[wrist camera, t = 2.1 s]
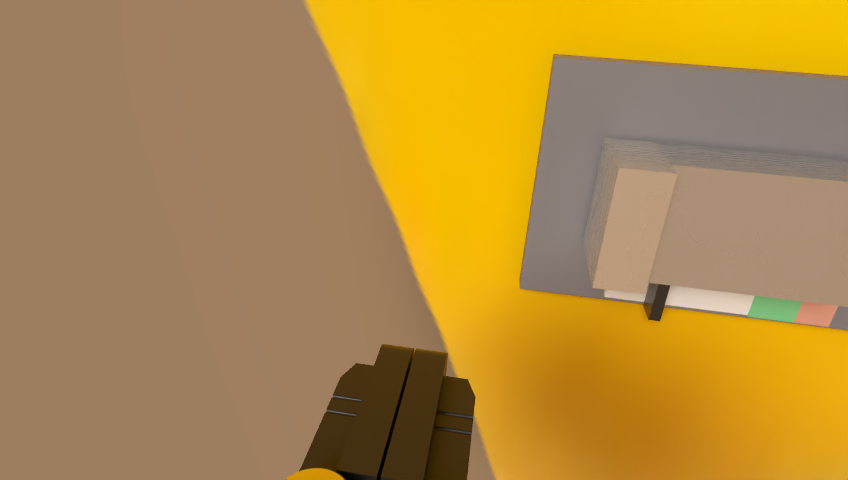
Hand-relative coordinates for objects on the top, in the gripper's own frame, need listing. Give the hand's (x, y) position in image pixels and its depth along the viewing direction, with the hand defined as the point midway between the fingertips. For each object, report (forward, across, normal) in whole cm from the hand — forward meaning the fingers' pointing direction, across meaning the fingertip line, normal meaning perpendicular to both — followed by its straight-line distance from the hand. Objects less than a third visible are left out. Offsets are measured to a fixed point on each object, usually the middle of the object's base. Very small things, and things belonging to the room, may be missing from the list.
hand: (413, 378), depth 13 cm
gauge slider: (+14, -11, +1) cm, 17 cm away
